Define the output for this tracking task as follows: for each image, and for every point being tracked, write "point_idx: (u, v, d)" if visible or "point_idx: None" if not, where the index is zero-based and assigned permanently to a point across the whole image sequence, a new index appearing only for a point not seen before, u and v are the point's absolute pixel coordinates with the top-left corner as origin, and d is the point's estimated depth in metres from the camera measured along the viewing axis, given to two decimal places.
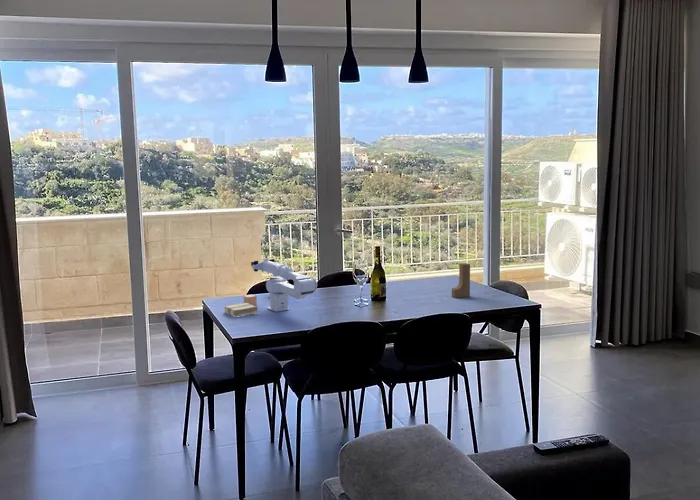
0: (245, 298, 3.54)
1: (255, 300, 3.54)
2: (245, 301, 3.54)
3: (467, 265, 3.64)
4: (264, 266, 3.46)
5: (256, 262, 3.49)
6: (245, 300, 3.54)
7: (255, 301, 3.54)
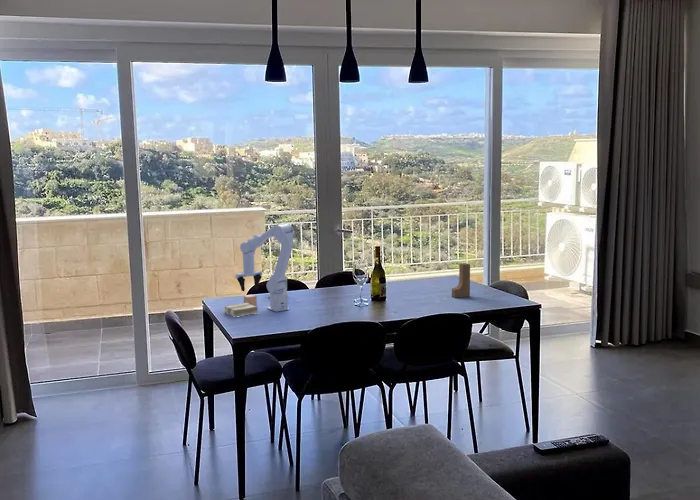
0: (245, 298, 3.54)
1: (255, 300, 3.54)
2: (245, 301, 3.54)
3: (467, 265, 3.64)
4: (243, 267, 3.51)
5: None
6: (245, 300, 3.54)
7: (255, 301, 3.54)
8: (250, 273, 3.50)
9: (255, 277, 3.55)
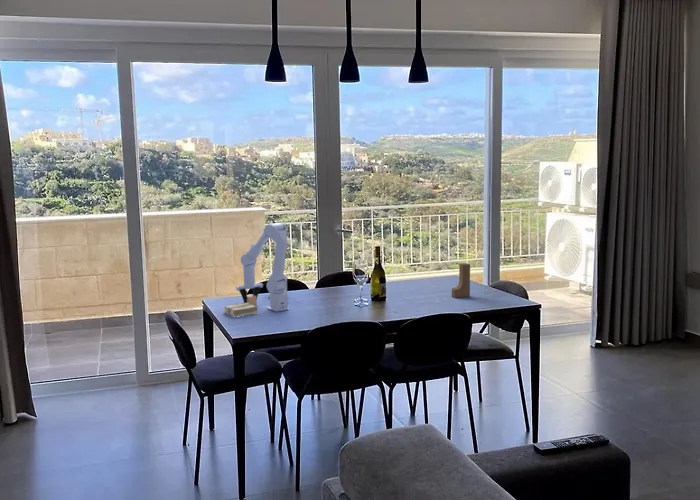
0: None
1: (255, 300, 3.54)
2: None
3: (467, 265, 3.64)
4: (244, 280, 3.52)
5: None
6: None
7: (255, 301, 3.54)
8: (250, 286, 3.51)
9: (254, 290, 3.56)
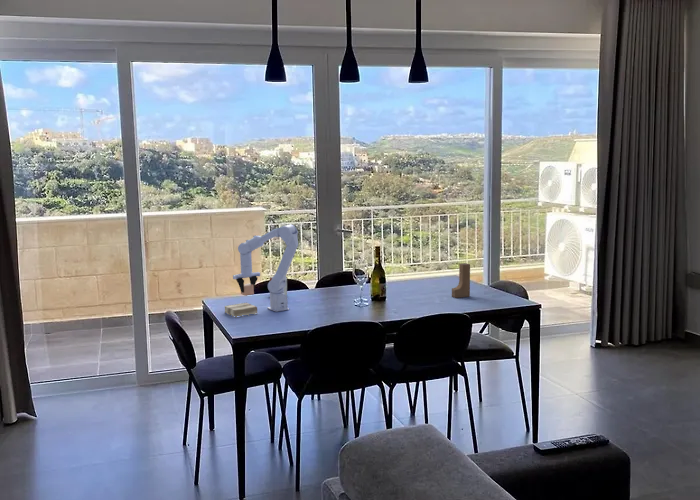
0: None
1: (252, 289, 3.48)
2: None
3: (467, 265, 3.64)
4: (241, 269, 3.46)
5: None
6: None
7: (252, 290, 3.48)
8: (248, 274, 3.45)
9: (251, 279, 3.50)
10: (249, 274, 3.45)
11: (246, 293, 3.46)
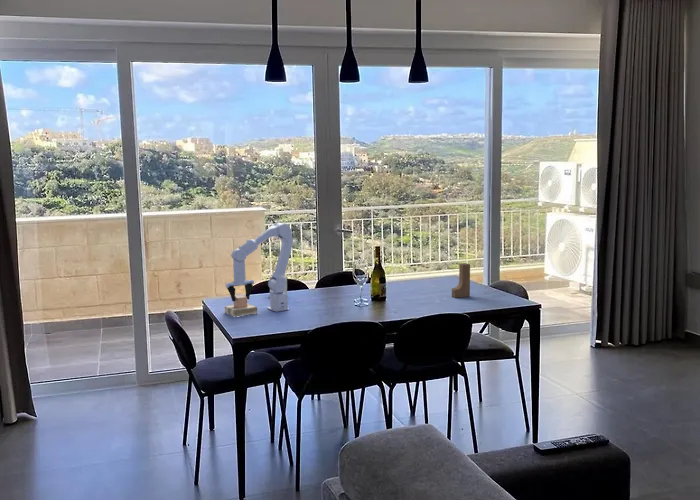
0: (235, 299, 3.35)
1: (246, 301, 3.35)
2: (235, 302, 3.35)
3: (467, 265, 3.64)
4: (234, 276, 3.33)
5: None
6: (235, 301, 3.35)
7: (246, 302, 3.35)
8: (241, 282, 3.32)
9: (246, 286, 3.37)
10: (242, 282, 3.33)
11: (239, 305, 3.33)
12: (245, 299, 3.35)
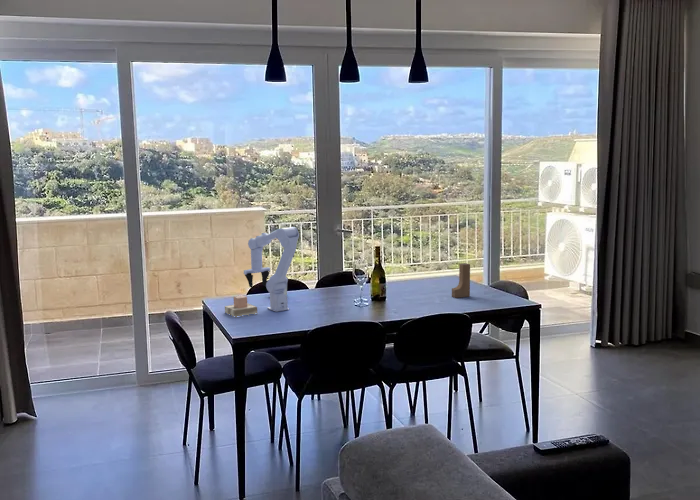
0: (235, 299, 3.35)
1: (246, 301, 3.35)
2: (235, 302, 3.35)
3: (467, 265, 3.64)
4: (251, 264, 3.51)
5: None
6: (235, 301, 3.35)
7: (246, 302, 3.35)
8: (258, 269, 3.50)
9: (263, 273, 3.55)
10: (259, 269, 3.50)
11: (239, 306, 3.33)
12: (245, 299, 3.35)
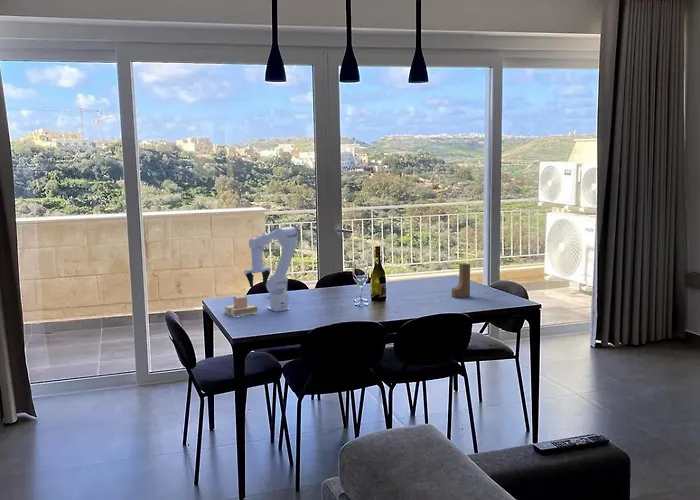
0: (235, 299, 3.35)
1: (245, 301, 3.35)
2: (235, 302, 3.35)
3: (467, 265, 3.64)
4: (252, 264, 3.51)
5: None
6: (235, 301, 3.35)
7: (245, 302, 3.35)
8: (259, 269, 3.50)
9: (263, 273, 3.56)
10: (260, 269, 3.51)
11: (239, 305, 3.33)
12: (245, 299, 3.35)
